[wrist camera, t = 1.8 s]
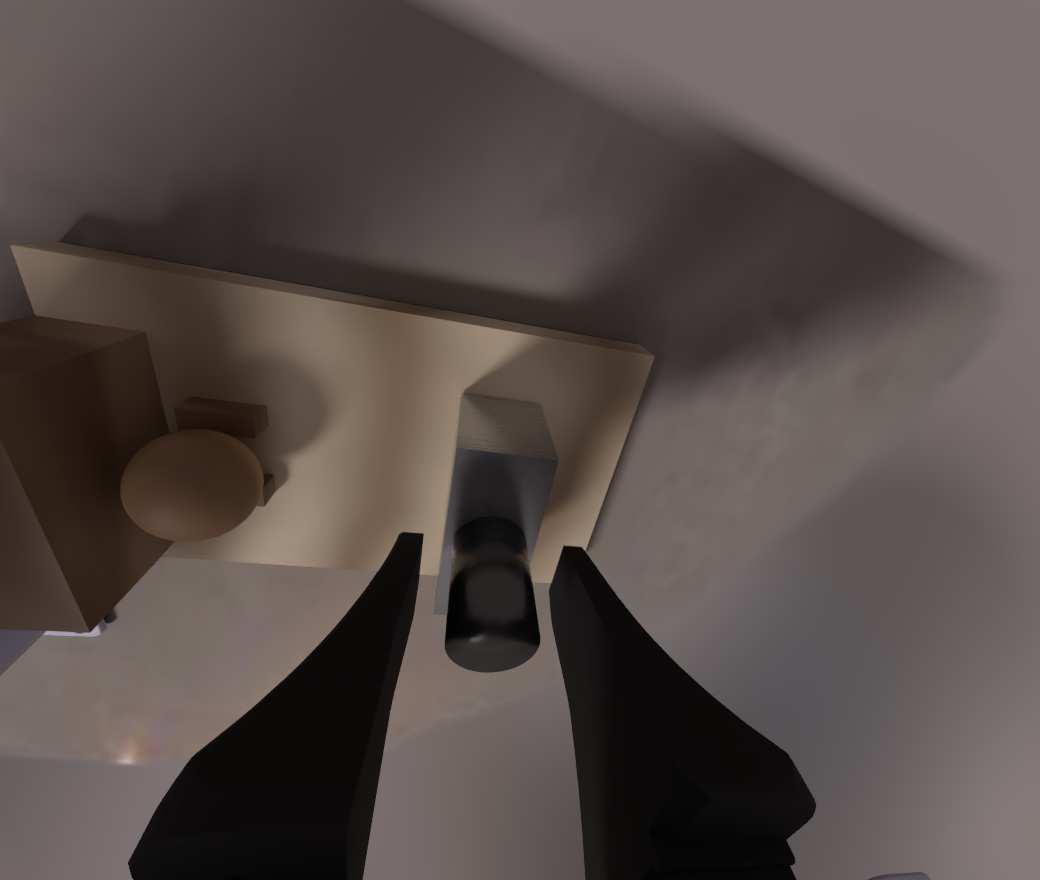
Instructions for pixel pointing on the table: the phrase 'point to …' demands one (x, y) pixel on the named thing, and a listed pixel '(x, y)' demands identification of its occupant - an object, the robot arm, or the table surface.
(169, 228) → the table surface
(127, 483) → the walnut
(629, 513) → the table surface
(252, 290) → the base
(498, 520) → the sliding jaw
